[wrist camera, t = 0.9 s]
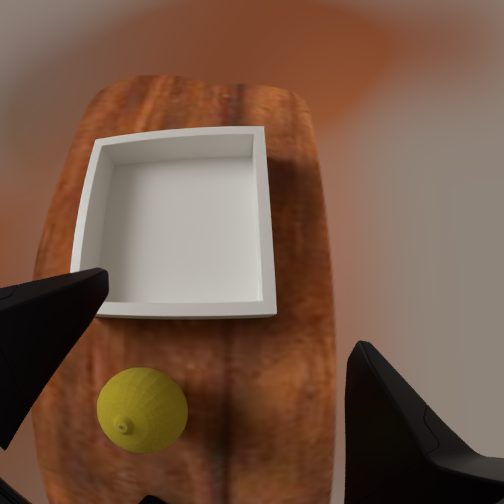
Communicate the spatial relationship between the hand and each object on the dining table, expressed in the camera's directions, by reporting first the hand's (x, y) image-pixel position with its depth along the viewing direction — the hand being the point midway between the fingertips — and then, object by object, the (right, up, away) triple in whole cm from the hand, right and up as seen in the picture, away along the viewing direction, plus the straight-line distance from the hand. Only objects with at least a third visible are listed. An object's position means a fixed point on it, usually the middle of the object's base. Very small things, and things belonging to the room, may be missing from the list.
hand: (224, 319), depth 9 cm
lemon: (-6, -9, +10) cm, 15 cm away
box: (-5, +4, +13) cm, 15 cm away
